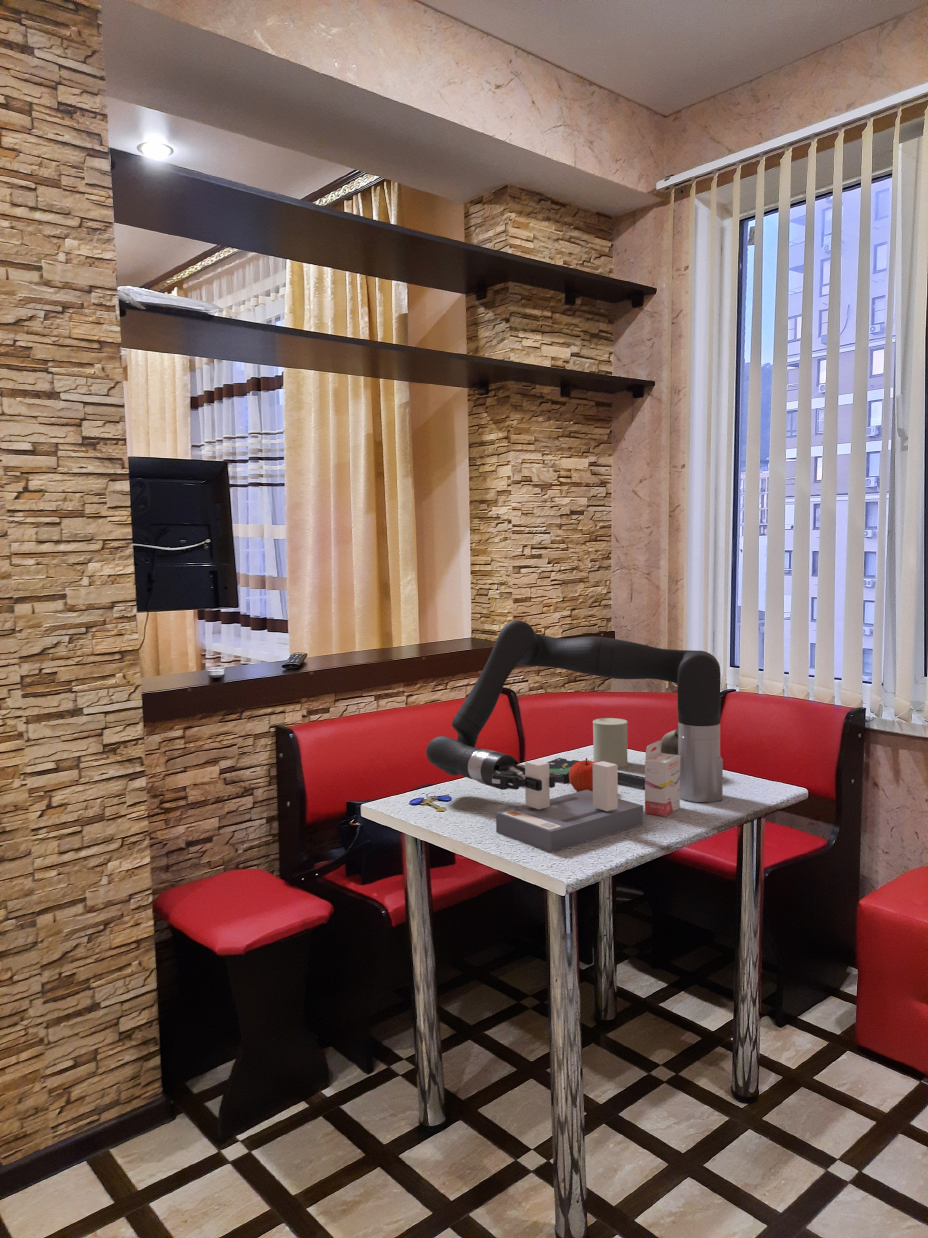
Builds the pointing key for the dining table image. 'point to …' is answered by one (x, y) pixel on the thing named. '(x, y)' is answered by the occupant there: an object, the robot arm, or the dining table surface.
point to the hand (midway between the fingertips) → (547, 784)
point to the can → (610, 741)
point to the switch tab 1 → (542, 773)
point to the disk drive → (560, 769)
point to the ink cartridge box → (661, 781)
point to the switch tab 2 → (605, 786)
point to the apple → (582, 775)
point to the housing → (567, 821)
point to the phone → (631, 781)
